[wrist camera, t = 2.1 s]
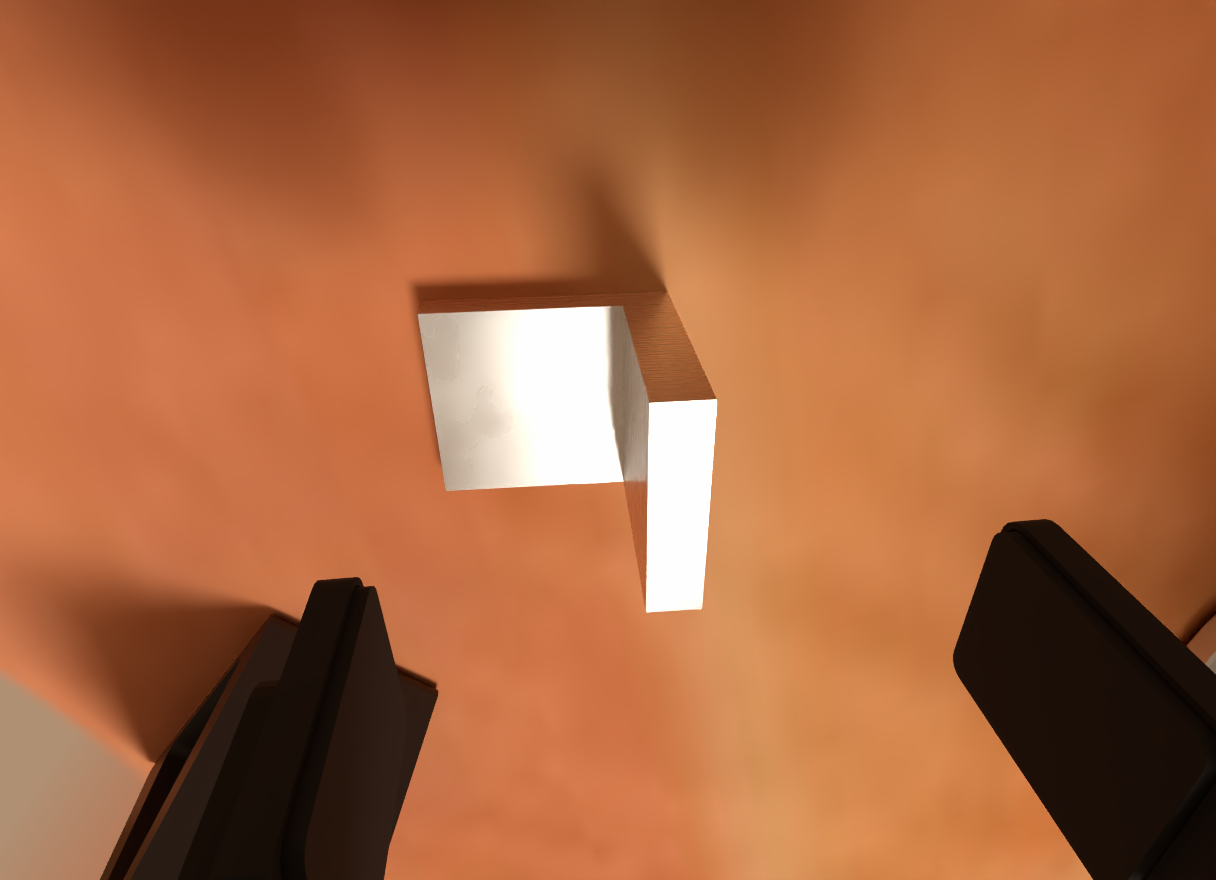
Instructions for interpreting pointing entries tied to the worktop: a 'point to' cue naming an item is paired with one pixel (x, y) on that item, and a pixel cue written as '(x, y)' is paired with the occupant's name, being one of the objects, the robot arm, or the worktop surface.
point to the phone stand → (196, 755)
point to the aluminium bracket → (582, 414)
